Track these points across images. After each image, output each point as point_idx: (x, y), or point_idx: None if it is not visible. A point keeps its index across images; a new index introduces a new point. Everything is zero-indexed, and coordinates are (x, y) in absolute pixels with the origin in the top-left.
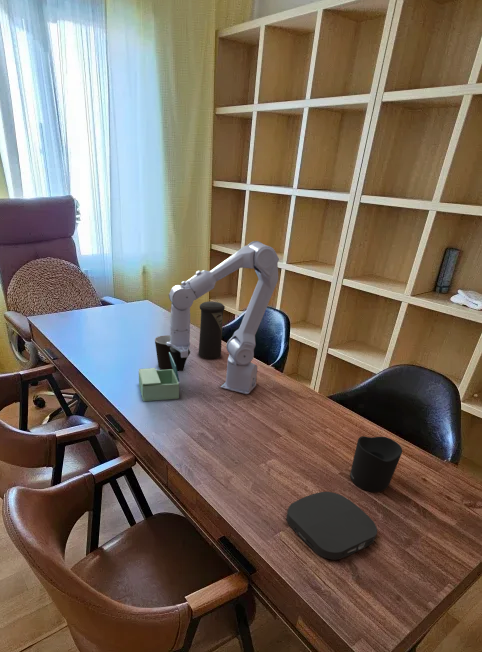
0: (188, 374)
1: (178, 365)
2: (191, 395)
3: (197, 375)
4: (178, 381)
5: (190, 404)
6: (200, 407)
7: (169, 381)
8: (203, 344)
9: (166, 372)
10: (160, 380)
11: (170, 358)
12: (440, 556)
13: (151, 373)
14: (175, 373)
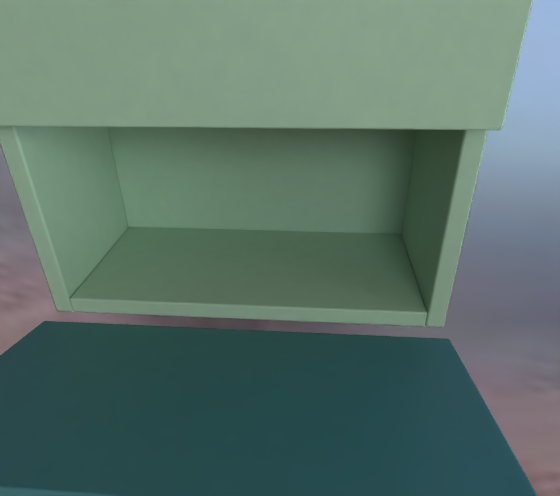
0: (527, 374)
1: None
2: (177, 318)
3: None
4: (39, 325)
5: (43, 285)
6: (12, 328)
7: (405, 222)
8: None
9: (431, 245)
10: (423, 141)
11: (424, 444)
12: None
13: (291, 25)
14: (150, 351)
